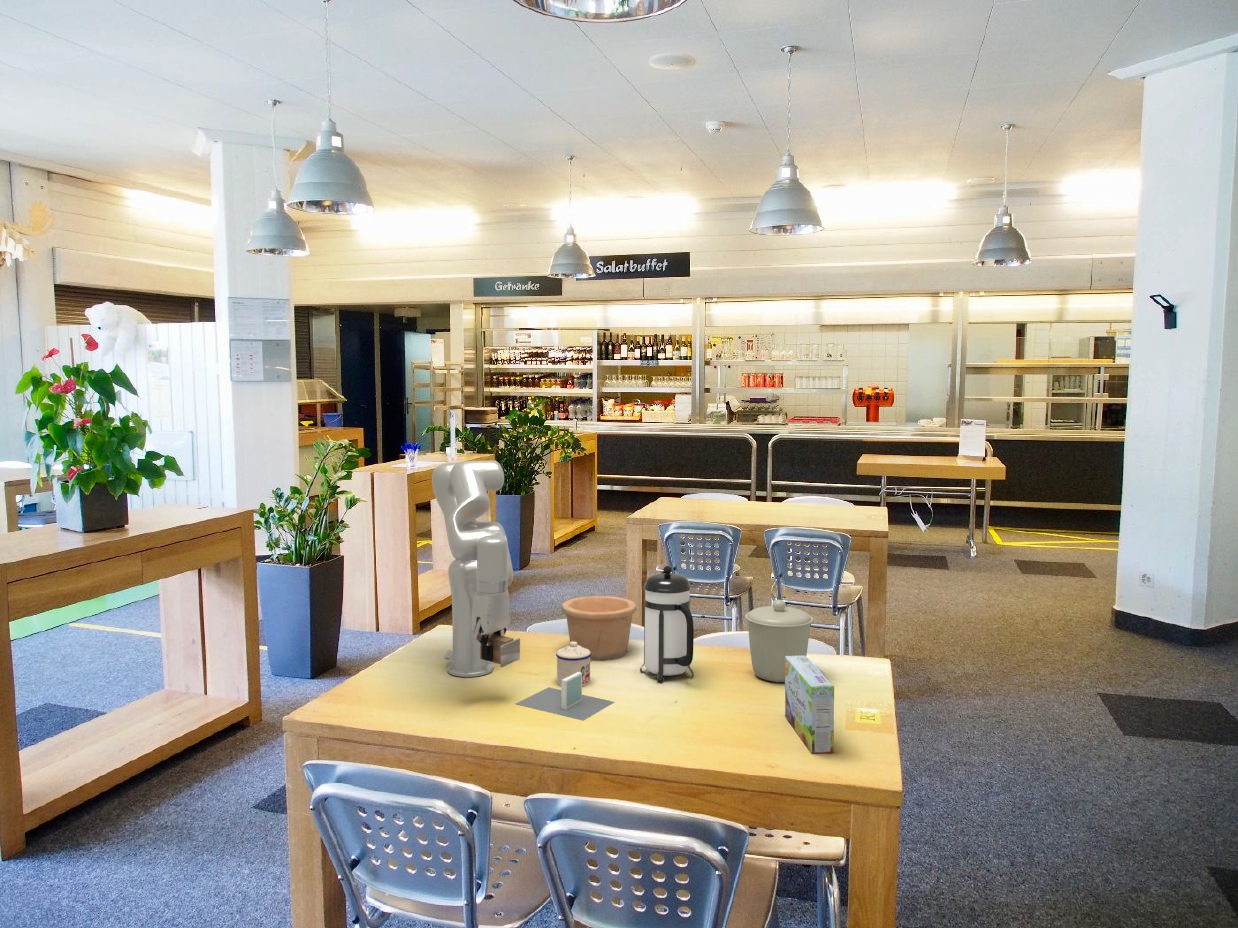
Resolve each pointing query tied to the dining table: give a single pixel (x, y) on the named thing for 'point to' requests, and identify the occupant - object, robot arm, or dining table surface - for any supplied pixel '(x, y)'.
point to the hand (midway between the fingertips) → (492, 657)
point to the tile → (571, 690)
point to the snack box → (809, 704)
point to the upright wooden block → (504, 649)
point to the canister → (776, 638)
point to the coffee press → (667, 625)
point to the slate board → (553, 703)
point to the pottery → (600, 624)
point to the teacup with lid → (573, 663)
